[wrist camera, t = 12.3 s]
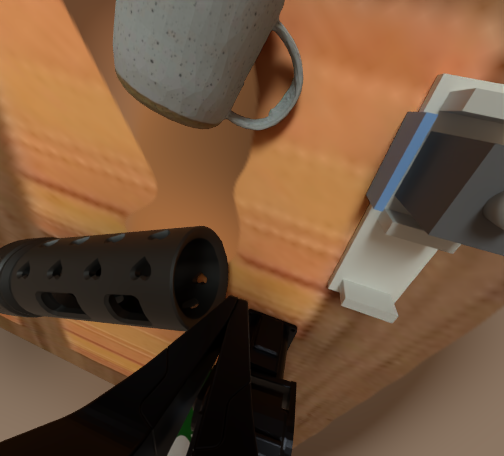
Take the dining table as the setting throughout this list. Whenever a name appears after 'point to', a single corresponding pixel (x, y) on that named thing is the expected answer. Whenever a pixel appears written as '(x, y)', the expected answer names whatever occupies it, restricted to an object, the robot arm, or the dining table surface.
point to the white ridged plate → (390, 208)
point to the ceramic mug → (198, 57)
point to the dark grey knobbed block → (458, 191)
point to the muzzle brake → (116, 277)
